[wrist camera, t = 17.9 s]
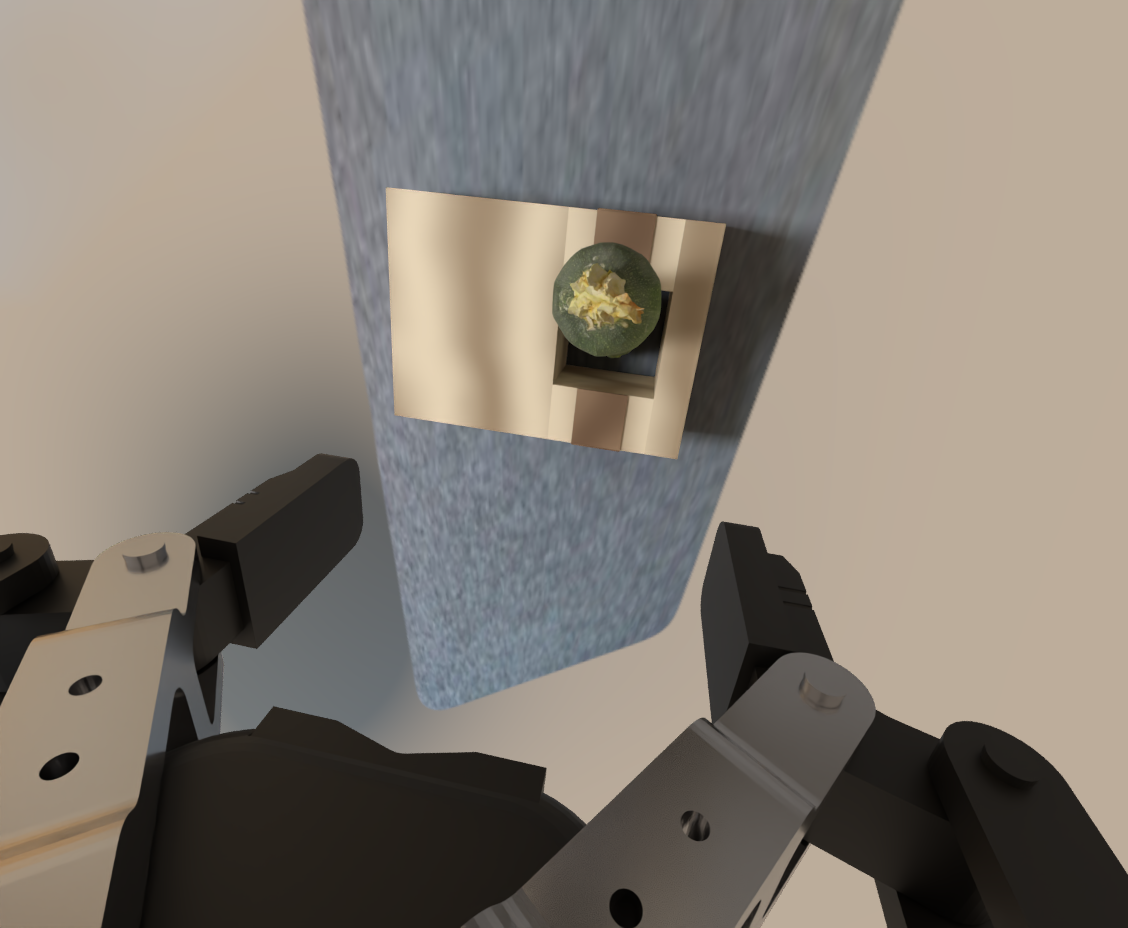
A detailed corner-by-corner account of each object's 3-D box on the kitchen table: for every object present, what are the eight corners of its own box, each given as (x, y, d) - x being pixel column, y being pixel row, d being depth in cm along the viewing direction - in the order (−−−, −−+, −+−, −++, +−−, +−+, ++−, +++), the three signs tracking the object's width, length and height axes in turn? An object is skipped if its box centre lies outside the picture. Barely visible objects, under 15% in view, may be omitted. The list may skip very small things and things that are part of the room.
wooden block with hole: (425, 394, 38) (394, 417, 34) (423, 190, 33) (384, 185, 28) (674, 431, 37) (676, 461, 32) (717, 222, 31) (726, 221, 26)
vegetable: (572, 317, 35) (484, 254, 15) (627, 274, 34) (609, 150, 14) (611, 373, 35) (574, 383, 15) (667, 333, 34) (703, 289, 14)
